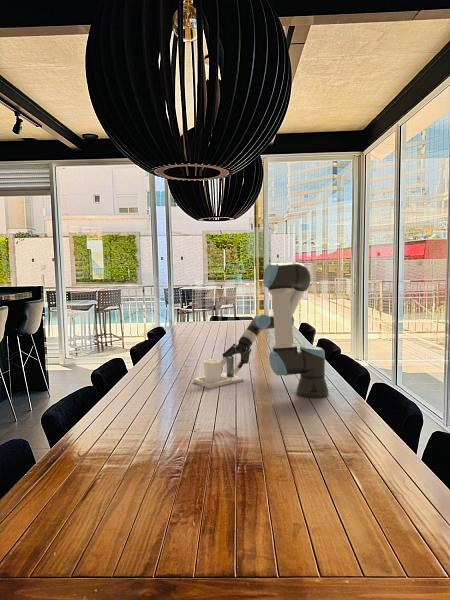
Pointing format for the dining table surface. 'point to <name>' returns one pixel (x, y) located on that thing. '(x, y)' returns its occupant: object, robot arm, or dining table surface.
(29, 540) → the dining table surface
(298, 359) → the robot arm
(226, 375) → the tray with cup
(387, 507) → the dining table surface
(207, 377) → the candle holder
